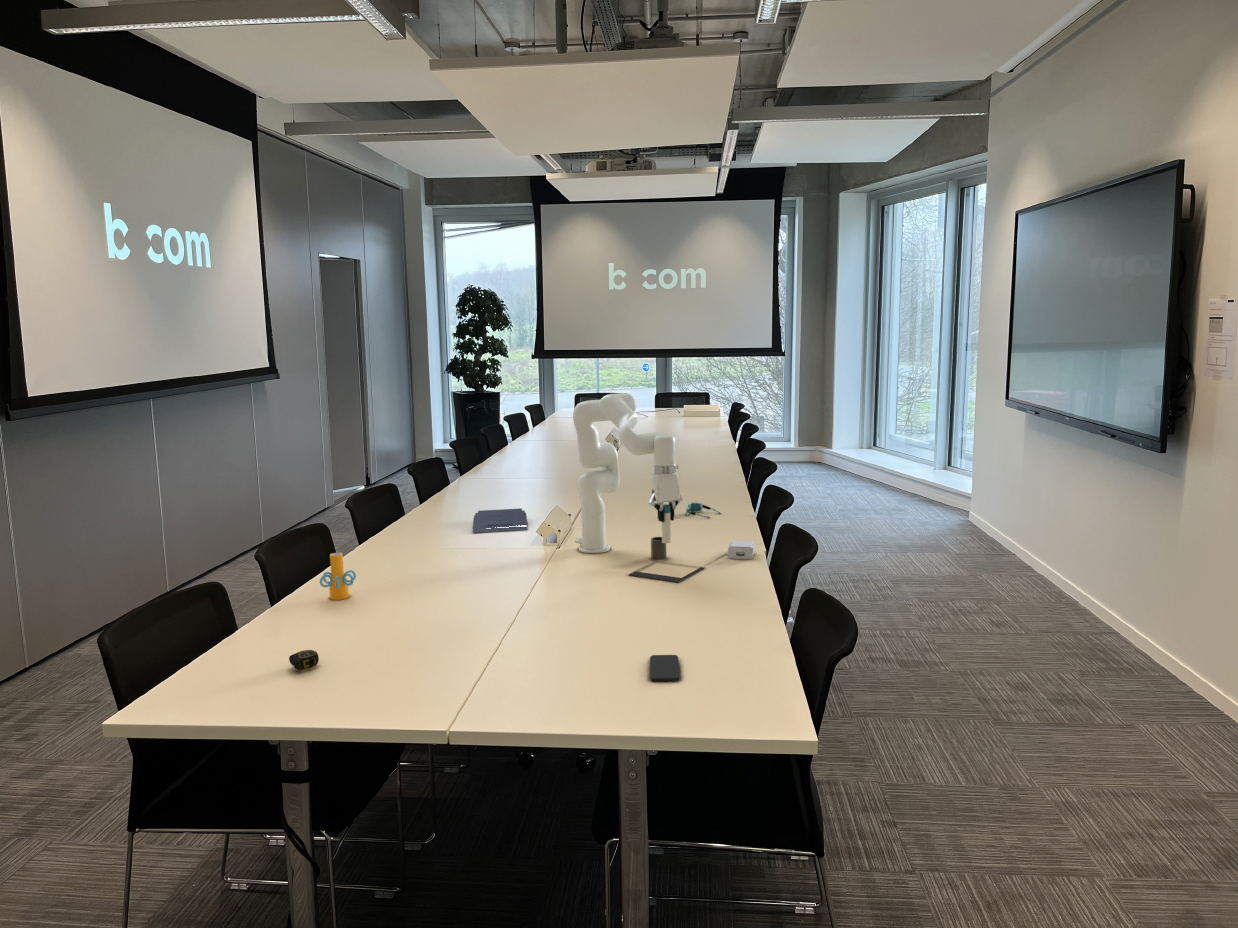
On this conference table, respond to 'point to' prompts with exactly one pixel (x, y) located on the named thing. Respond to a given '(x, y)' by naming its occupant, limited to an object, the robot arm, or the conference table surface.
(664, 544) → the pen cup
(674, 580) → the mat
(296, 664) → the tape measure
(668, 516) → the marker
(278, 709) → the conference table surface
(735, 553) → the charger
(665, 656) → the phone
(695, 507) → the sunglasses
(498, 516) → the dark grey flat slab
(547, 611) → the conference table surface
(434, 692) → the conference table surface
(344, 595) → the cylinder
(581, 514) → the robot arm
